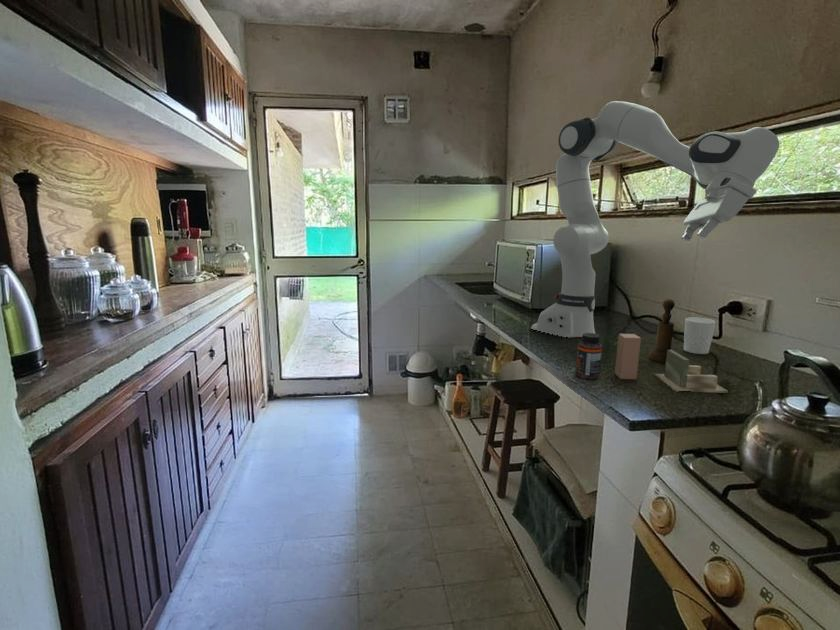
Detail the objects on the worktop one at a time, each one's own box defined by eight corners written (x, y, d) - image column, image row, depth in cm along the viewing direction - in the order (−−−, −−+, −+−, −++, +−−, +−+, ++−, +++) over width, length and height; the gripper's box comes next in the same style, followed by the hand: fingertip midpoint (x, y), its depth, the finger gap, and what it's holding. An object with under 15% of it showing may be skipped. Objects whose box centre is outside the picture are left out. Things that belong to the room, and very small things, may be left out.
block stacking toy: (702, 376, 115) (706, 349, 113) (727, 392, 104) (732, 362, 102) (654, 375, 116) (657, 348, 114) (675, 391, 105) (679, 361, 103)
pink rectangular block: (630, 374, 117) (634, 334, 114) (636, 379, 113) (641, 338, 111) (614, 373, 117) (618, 333, 115) (620, 378, 113) (624, 337, 111)
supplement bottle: (571, 372, 118) (574, 331, 115) (592, 372, 118) (596, 331, 116) (581, 380, 112) (584, 337, 109) (603, 379, 112) (607, 337, 110)
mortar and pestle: (644, 357, 131) (651, 298, 127) (659, 355, 133) (666, 296, 130) (664, 364, 125) (671, 302, 121) (679, 361, 127) (687, 300, 124)
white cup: (715, 355, 133) (720, 323, 131) (686, 354, 134) (691, 322, 132) (704, 348, 140) (708, 318, 138) (677, 347, 142) (681, 316, 140)
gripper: (697, 192, 122) (666, 235, 124) (736, 176, 101) (698, 227, 104) (717, 204, 121) (686, 247, 123) (761, 190, 101) (722, 241, 103)
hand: (692, 238), depth 113 cm, fingers open, 8 cm apart
